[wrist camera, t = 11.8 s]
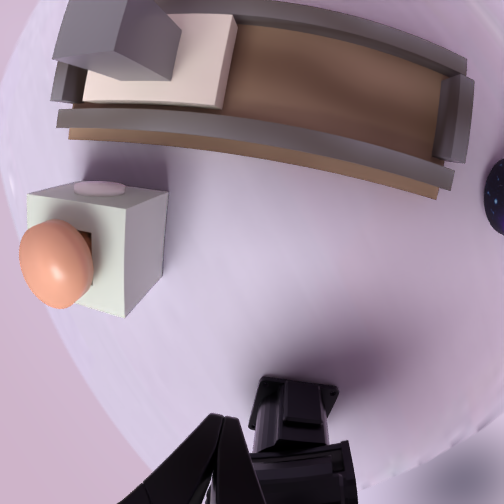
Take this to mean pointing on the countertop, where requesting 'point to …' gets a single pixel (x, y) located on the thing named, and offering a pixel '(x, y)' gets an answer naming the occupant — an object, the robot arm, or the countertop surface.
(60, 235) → the button
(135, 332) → the countertop surface
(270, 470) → the robot arm
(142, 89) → the carriage
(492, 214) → the beverage can
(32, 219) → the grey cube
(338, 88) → the rail
